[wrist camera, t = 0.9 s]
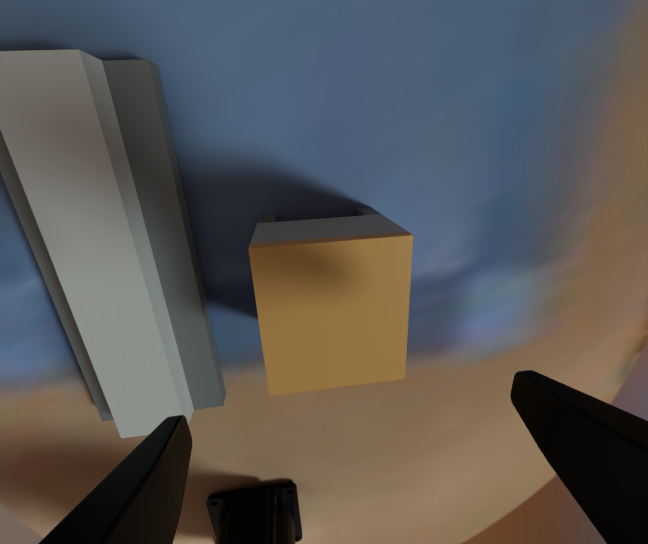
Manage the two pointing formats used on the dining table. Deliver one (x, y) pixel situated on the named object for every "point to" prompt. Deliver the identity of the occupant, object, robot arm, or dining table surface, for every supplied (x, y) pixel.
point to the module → (332, 300)
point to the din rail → (161, 226)
